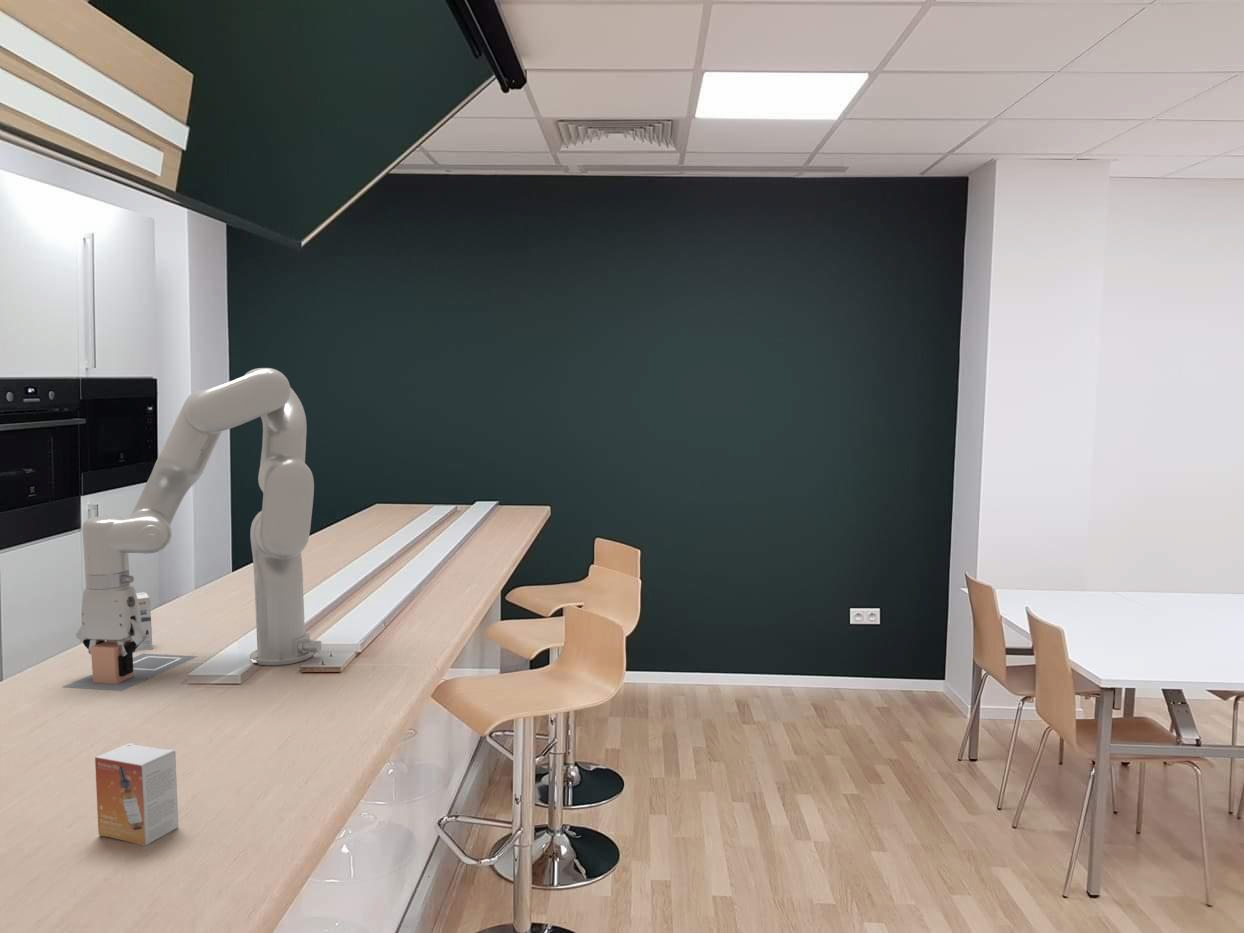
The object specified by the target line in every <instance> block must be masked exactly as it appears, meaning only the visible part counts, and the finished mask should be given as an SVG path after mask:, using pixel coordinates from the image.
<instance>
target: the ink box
mask: <svg viewBox="0 0 1244 933" xmlns="http://www.w3.org/2000/svg"><path fill="white" fill-rule="evenodd" d="M136 595H137V598H138V603H139V608H140V616H141V625H142V631H143V632H144V633H145V634H146V636H147V638H146V639H145V640H144V641H143V642H142V643H141V644H140V645H139V646H138V647H137V648H136V650H135V652H136V651H142V650H149V651H150V650H153V631H152V630H153V629H152V628H153V627H152V614H151V597H150V595H149V594H148V593H147V592H138V593H137V592H136ZM132 639H133V640H134V639H135V636H132ZM105 641H108V640H105Z"/></svg>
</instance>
